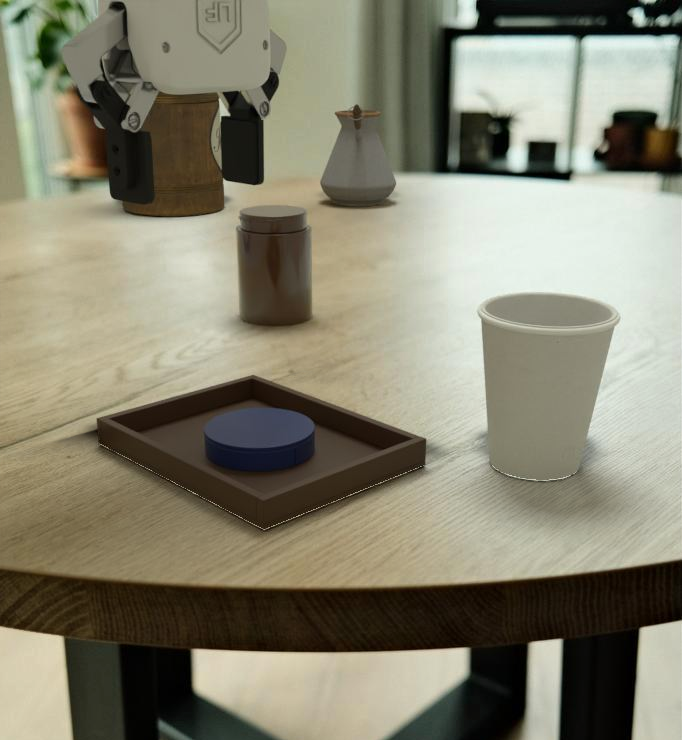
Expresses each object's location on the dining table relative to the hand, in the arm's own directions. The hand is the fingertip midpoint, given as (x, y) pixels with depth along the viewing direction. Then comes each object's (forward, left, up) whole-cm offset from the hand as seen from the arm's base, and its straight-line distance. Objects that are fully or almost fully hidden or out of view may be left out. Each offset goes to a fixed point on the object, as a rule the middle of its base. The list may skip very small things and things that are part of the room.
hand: (190, 191), depth 63 cm
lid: (+7, 0, -14) cm, 16 cm away
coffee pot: (-57, +70, -16) cm, 91 cm away
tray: (+6, 0, -16) cm, 17 cm away
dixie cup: (+19, +12, -16) cm, 28 cm away
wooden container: (-75, +50, -16) cm, 91 cm away
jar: (-16, +20, -16) cm, 29 cm away
